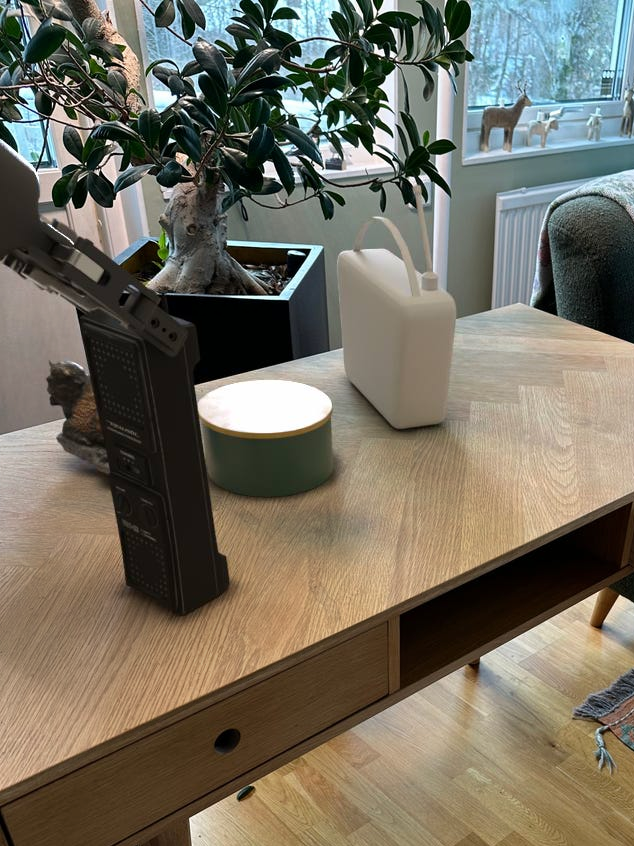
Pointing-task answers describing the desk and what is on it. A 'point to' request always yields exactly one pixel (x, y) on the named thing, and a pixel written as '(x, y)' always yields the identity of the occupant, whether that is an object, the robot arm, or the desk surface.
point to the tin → (267, 437)
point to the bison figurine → (77, 413)
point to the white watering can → (396, 329)
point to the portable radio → (155, 462)
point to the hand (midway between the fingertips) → (144, 328)
